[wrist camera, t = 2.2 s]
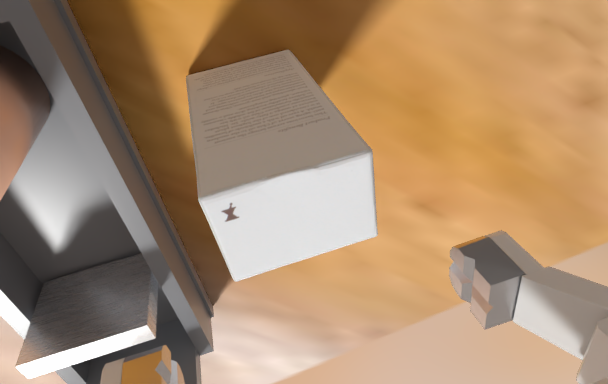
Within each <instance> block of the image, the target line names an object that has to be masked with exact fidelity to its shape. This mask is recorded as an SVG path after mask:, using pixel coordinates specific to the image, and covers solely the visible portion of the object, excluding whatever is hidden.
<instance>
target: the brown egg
mask: <svg viewBox="0 0 608 384" xmlns="http://www.w3.org/2000/svg"><path fill="white" fill-rule="evenodd" d="M49 112H50V98H49V94H48V91H47V88H46V86H45V84H44V82H43V80H42V78H41V77H40V75H39V74H38V73H37V72H36V70H35V69H34V68H33V67H32V66H31V65H30V64H29V63H28V62H27V61H25V60H24V59H23V58H22V57H20V56H19V55H17V54H16V53H14V52H13V51H11V50H9V49H7V48H5V47H3V46H0V201H1V199H2V197H3V196H4V194H5V192H6V190H7V189H8V187H9V185H10V183H11V182H12V180H13V178H14V177H15V175H16V173H17V171H18V170H19V168H20V166H21V165H22V163H23V161H24V159H25V158H26V156H27V154H28V152H29V151H30V149H31V147H32V146H33V144H34V142H35V140H36V139H37V137H38V135H39V134H40V132H41V130H42V128H43V127H44V125H45V123H46V121H47V119H48V116H49Z"/></svg>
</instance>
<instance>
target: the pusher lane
mask: <svg viewBox="0 0 608 384" xmlns="http://www.w3.org/2000/svg"><path fill="white" fill-rule="evenodd" d="M0 46H3V47H5V48H7V49H9V50H11V51H13V52H14V53H16V54H17V55H19V56H20V57H22V58H23V59H24V60H25V61H27V62H28V63H29V64H30V65H31V66H32V67H33V68H34V69H35V70H36V72H37V73H38V74H39V75H40V77H41V78H42V80H43V82H44V84H45V86H46V88H47V91H48V94H49V98H50V112H49V116H48V119H47V121H46V123H45V125H44V127H43V128H42V130H41V132H40V134H39V135H38V137H37V139H36V140H35V142H34V144H33V146H32V147H31V149H30V151H29V152H28V154H27V156H26V158H25V159H24V161H23V163H22V165H21V166H20V168H19V170H18V171H17V173H16V175H15V177H14V178H13V180H12V182H11V183H10V185H9V187H8V189H7V190H6V192H5V194H4V196H3V197H2V199H1V201H0V315H1V316H2V317H3V318H4V319H5V320H6V321H7V323H8V324H9V325H10V326H11V327H12V328H13V329H14V330H15V331H16V332H17V333H18V334H19V335H20V336H21V337H22V338H23V339H24V340H25V337H26V334H27V331H28V328H29V325H30V322H31V319H32V316H33V314H34V311H35V308H36V305H37V302H38V299H39V296H40V293H41V290H42V287H43V284H44V282H47V281H50V280H53V279H57V278H60V277H64V276H67V275H70V274H74V273H77V272H80V271H84V270H87V269H90V268H94V267H97V266H100V265H104V264H107V263H110V262H114V261H117V260H120V259H124V258H127V257H131V256H134V255H137V254H141V253H142V255H143V257H144V258H145V260H146V262H147V264H148V265H149V267H150V269H151V271H152V272H153V274H154V276H155V278H156V280H157V281H158V298H157V322H156V338H155V339H152V340H149V341H146V342H143V343H140V344H136V345H133V346H130V347H127V348H124V349H121V350H118V351H115V352H111V353H108V354H105V355H102V356H99V357H96V358H93V359H90V360H86V361H83V362H80V363H77V364H74V365H71V366H68V367H65V368H61V369H58V370H55V372H56V373H57V374H58V375H59V376H60V377H61V378H62V379H63V380H64V381H65V382H66V383H67V384H100V382H101V375H102V370H103V368H104V366H105V364H107V363H110V362H113V361H116V360H119V359H122V358H125V357H128V356H131V355H134V354H138V353H141V352H144V351H147V350H151V349H154V348H157V347H160V346H164V345H166V346H167V347H168V349H169V350H170V351H171V360H173V361H176V362H177V363H178V364H179V366H180V368H181V371H182V373H183V377H184V382H185V384H201V368H200V355H203V354H206V353H209V352H212V351H214V350H213V339H212V327H211V317H214V313H213V306H212V304H211V302H210V300H209V298H208V295H207V293H206V291H205V289H204V287H203V285H202V283H201V281H200V279H199V277H198V274H197V272H196V270H195V268H194V266H193V264H192V262H191V260H190V258H189V256H188V253H187V251H186V249H185V247H184V245H183V243H182V241H181V239H180V237H179V235H178V233H177V230H176V228H175V226H174V224H173V222H172V220H171V218H170V216H169V214H168V212H167V209H166V207H165V205H164V203H163V201H162V199H161V197H160V195H159V193H158V191H157V188H156V186H155V184H154V182H153V180H152V178H151V176H150V174H149V172H148V170H147V168H146V165H145V163H144V161H143V159H142V157H141V155H140V153H139V151H138V149H137V147H136V144H135V142H134V140H133V138H132V136H131V134H130V132H129V130H128V128H127V126H126V123H125V121H124V119H123V117H122V115H121V113H120V111H119V109H118V107H117V105H116V102H115V100H114V98H113V96H112V94H111V92H110V90H109V88H108V86H107V84H106V82H105V79H104V77H103V75H102V73H101V71H100V69H99V67H98V65H97V63H96V61H95V58H94V56H93V54H92V52H91V50H90V48H89V46H88V44H87V42H86V40H85V37H84V35H83V33H82V31H81V29H80V27H79V25H78V23H77V21H76V19H75V17H74V14H73V12H72V10H71V8H70V6H69V4H68V2H67V0H0Z"/></svg>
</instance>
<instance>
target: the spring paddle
mask: <svg viewBox="0 0 608 384" xmlns="http://www.w3.org/2000/svg"><path fill="white" fill-rule="evenodd" d="M157 298H158V281H157V280H156V278H155V276H154V274H153V272H152V271H151V269H150V267H149V265H148V264H147V262H146V260H145V258H144V257H143V255H142V253H141V254H137V255H134V256H131V257H127V258H124V259H120V260H117V261H114V262H110V263H107V264H104V265H100V266H97V267H94V268H90V269H87V270H84V271H80V272H77V273H74V274H70V275H67V276H64V277H60V278H57V279H53V280H50V281H47V282H44V284H43V287H42V290H41V293H40V296H39V299H38V302H37V305H36V308H35V311H34V314H33V316H32V319H31V322H30V325H29V328H28V331H27V334H26V337H25V340H24V343H23V346H22V349H21V352H20V355H19V357H18V360H17V363H16V366H15V367H16V368H17V369H18V370H19V371H20V372H21V373H22V374H24V375H25V376H26V377H27V378H28V379H30V378H33V377H36V376H40V375H43V374H46V373H49V372H52V371H55V370H58V369H61V368H65V367H68V366H71V365H74V364H77V363H80V362H83V361H86V360H90V359H93V358H96V357H99V356H102V355H105V354H108V353H111V352H115V351H118V350H121V349H124V348H127V347H130V346H133V345H136V344H140V343H143V342H146V341H149V340H152V339H155V338H156V322H157Z"/></svg>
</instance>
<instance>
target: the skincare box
mask: <svg viewBox="0 0 608 384" xmlns="http://www.w3.org/2000/svg"><path fill="white" fill-rule="evenodd" d="M186 84H187V92H188V102H189V113H190V123H191V132H192V141H193V150H194V158H195V168H196V175H197V189H198V201H199V203H200V205H201V208H202V210H203V212H204V214H205V216H206V219H207V221H208V223H209V225H210V228H211V230H212V232H213V234H214V237H215V239H216V241H217V244H218V246H219V248H220V251H221V253H222V255H223V257H224V260H225V262H226V264H227V267H228V269H229V271H230V274H231V276H232V278H233V280H234V281H240V280H243V279H246V278H249V277H252V276H255V275H258V274H261V273H264V272H267V271H270V270H273V269H276V268H279V267H282V266H285V265H288V264H292V263H295V262H298V261H301V260H304V259H307V258H310V257H314V256H317V255H320V254H323V253H326V252H329V251H332V250H335V249H338V248H341V247H344V246H348V245H351V244H354V243H357V242H360V241H363V240H366V239H370V238H373V237H376V236H377V235H378V231H377V216H376V200H375V183H374V168H373V153H372V149H371V148H370V147H369V146H368V145H367V143H366V142H365V141H364V140H363V139H362V138H361V136H360V135H359V134H358V133H357V132H356V131H355V129H354V128H353V127H352V126H351V125H350V123H349V122H348V121H347V120H346V119H345V117H344V116H343V115H342V114H341V113H340V111H339V110H338V109H337V108H336V106H335V105H334V104H333V103H332V101H331V100H330V99H329V98H328V96H327V95H326V94H325V93H324V92H323V90H322V89H321V88H320V87H319V85H318V84H317V83H316V82H315V80H314V79H313V78H312V77H311V75H310V74H309V73H308V72H307V70H306V69H305V68H304V67H303V66H302V64H301V63H300V62H299V61H298V59H297V58H296V57H295V56H294V54H293V53H292V52H291V51H290V50H284V51H280V52H276V53H272V54H268V55H264V56H260V57H257V58H253V59H249V60H245V61H241V62H237V63H233V64H230V65H226V66H222V67H218V68H214V69H210V70H207V71H203V72H198V73H195V74H190V75H187V76H186Z"/></svg>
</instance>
